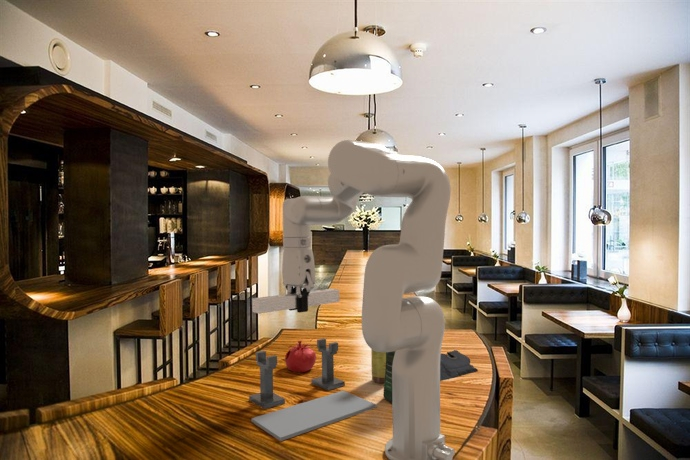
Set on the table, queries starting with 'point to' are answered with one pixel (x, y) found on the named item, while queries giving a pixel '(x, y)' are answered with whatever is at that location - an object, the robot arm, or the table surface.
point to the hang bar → (293, 300)
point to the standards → (325, 381)
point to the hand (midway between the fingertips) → (298, 310)
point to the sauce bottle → (378, 366)
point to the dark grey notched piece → (454, 365)
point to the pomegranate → (300, 358)
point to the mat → (312, 414)
